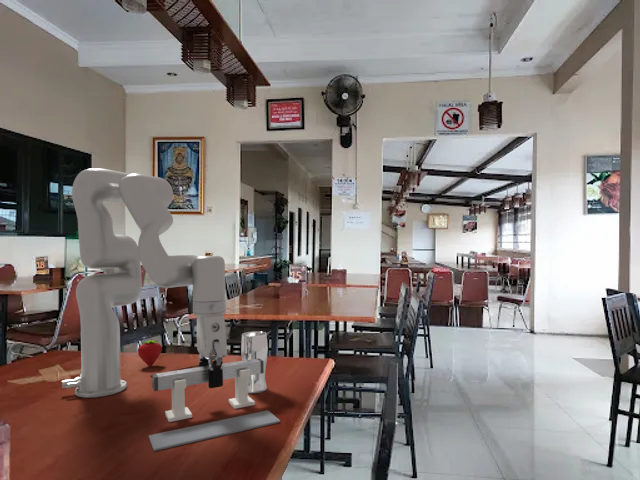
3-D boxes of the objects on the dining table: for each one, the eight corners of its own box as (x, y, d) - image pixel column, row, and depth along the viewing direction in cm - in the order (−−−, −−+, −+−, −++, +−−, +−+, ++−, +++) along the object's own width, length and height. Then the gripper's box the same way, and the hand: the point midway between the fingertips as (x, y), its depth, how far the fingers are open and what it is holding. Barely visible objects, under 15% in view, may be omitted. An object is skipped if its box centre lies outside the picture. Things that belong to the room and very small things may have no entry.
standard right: (235, 409, 104) (234, 372, 104) (227, 401, 109) (227, 366, 109) (255, 405, 106) (254, 368, 106) (247, 398, 112) (246, 363, 112)
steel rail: (154, 391, 97) (154, 377, 97) (152, 387, 99) (152, 374, 99) (263, 373, 109) (263, 360, 109) (259, 370, 112) (259, 358, 112)
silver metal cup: (263, 394, 114) (262, 336, 114) (238, 393, 115) (237, 336, 115) (271, 386, 121) (270, 331, 121) (247, 385, 122) (246, 331, 122)
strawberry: (135, 366, 143) (134, 335, 144) (158, 362, 148) (157, 332, 148) (141, 370, 139) (140, 338, 139) (164, 365, 144) (164, 335, 144)
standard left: (169, 422, 97) (168, 382, 97) (164, 413, 102) (164, 375, 102) (192, 418, 99) (191, 378, 99) (186, 409, 104) (186, 372, 104)
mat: (153, 451, 83) (153, 449, 83) (148, 437, 89) (148, 435, 89) (280, 422, 96) (280, 420, 96) (268, 411, 102) (268, 410, 102)
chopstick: (220, 362, 148) (220, 359, 148) (153, 379, 130) (153, 376, 130) (217, 361, 150) (217, 358, 150) (150, 378, 132) (150, 375, 132)
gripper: (236, 310, 99) (237, 389, 98) (215, 302, 114) (216, 371, 114) (202, 314, 95) (204, 395, 95) (185, 305, 110) (186, 375, 110)
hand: (210, 381), depth 104 cm, fingers open, 7 cm apart
